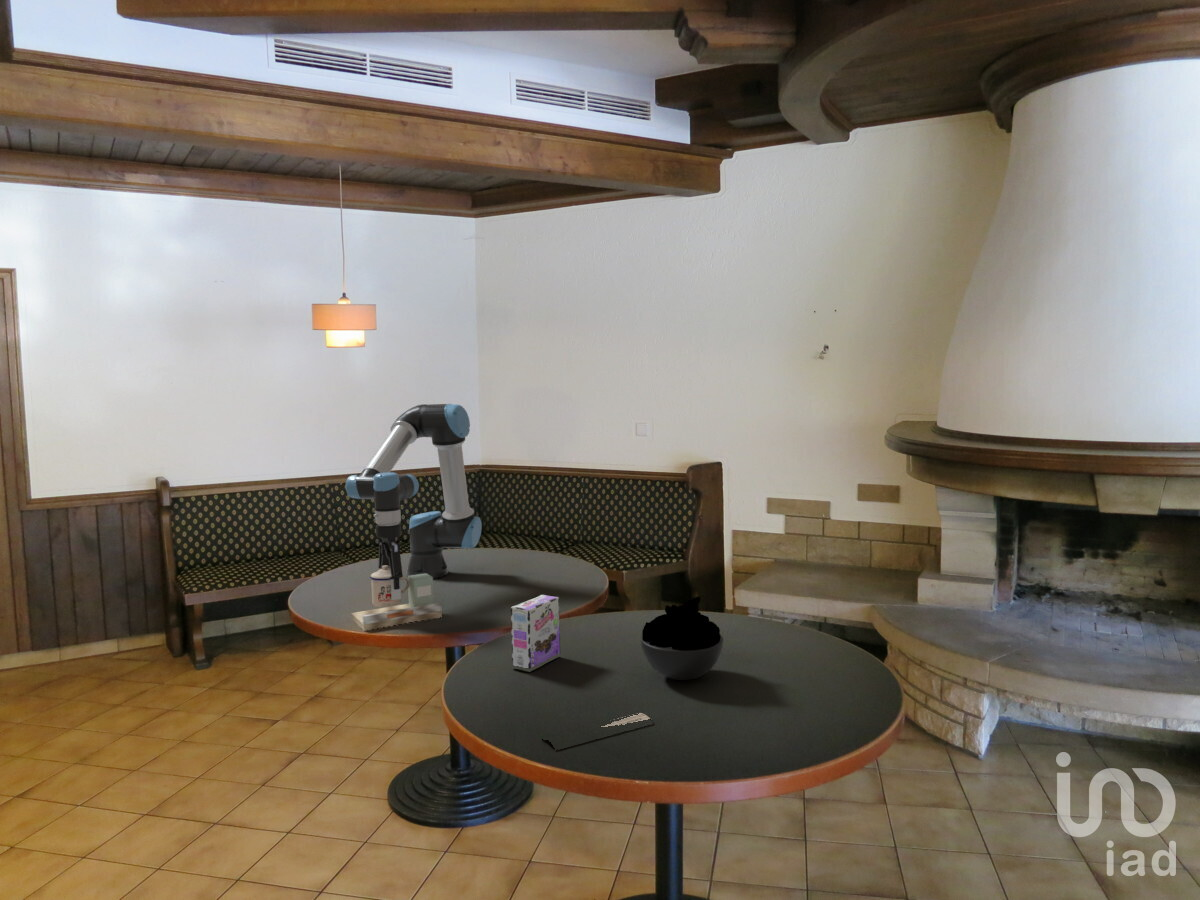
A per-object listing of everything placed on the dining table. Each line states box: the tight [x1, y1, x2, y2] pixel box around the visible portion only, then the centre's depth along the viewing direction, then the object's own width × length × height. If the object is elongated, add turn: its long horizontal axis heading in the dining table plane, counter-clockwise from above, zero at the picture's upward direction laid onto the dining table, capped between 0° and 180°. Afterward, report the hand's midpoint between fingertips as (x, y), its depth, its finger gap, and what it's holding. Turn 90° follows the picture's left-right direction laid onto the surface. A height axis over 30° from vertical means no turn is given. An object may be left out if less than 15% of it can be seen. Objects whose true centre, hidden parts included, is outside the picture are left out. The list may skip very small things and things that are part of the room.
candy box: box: [510, 594, 561, 669], centre depth 217 cm, size 14×6×16 cm, turn 148°
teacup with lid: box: [369, 565, 410, 608], centre depth 259 cm, size 12×9×12 cm
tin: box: [407, 573, 435, 608], centre depth 263 cm, size 6×6×10 cm
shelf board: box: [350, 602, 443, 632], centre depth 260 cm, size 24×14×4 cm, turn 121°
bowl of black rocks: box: [640, 596, 724, 681], centre depth 205 cm, size 20×20×19 cm
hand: (391, 595), depth 260 cm, fingers closed on teacup with lid, 9 cm apart
